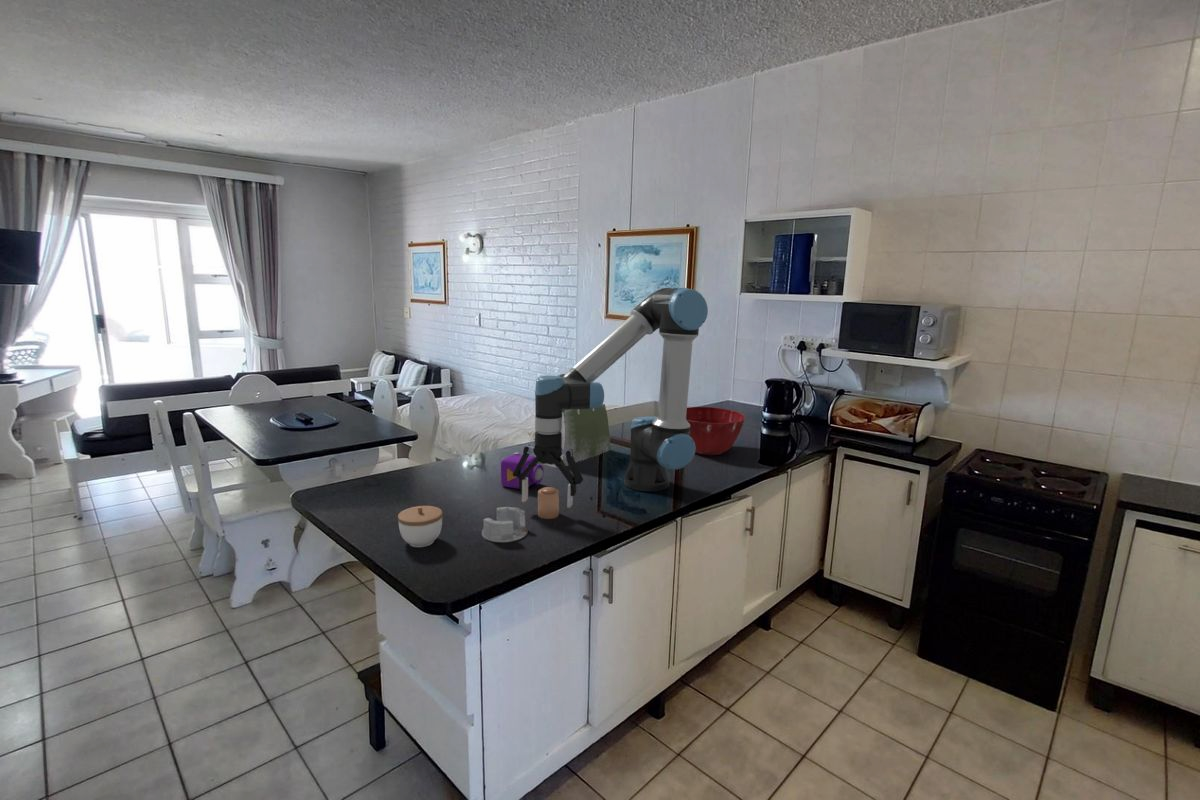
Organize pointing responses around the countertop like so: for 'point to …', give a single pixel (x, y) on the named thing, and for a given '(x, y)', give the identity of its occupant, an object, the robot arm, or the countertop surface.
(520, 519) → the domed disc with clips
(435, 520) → the lidded jar
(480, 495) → the countertop surface
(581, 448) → the grocery bag
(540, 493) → the tan tapered cylinder
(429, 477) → the countertop surface
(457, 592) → the countertop surface
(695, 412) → the mixing bowl
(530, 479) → the toy camera
